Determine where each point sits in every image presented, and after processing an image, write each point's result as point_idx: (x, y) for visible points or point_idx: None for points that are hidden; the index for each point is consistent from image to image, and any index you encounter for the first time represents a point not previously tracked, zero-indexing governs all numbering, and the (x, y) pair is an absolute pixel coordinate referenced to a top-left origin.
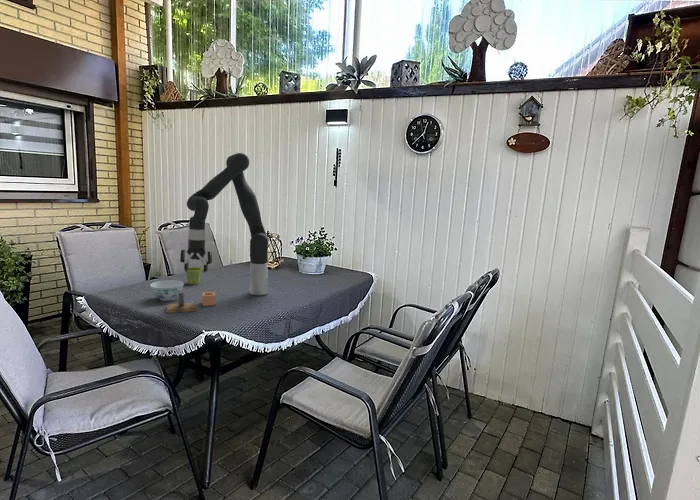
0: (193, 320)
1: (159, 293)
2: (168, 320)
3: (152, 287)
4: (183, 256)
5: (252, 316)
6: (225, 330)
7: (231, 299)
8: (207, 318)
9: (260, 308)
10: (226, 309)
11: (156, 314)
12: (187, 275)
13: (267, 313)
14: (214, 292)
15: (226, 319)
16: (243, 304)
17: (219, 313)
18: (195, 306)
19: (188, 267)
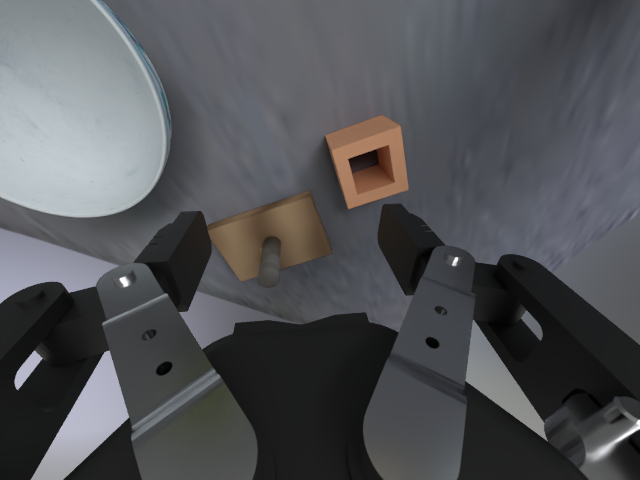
0: (348, 308)
1: (95, 190)
2: (282, 316)
3: (15, 200)
4: (40, 429)
5: None
6: None
7: (473, 47)
8: (383, 292)
9: (572, 185)
10: (438, 214)
11: (220, 287)
12: None
13: (573, 232)
14: (401, 134)
15: None
16: (518, 139)
17: None
18: (326, 239)
19: (190, 229)
